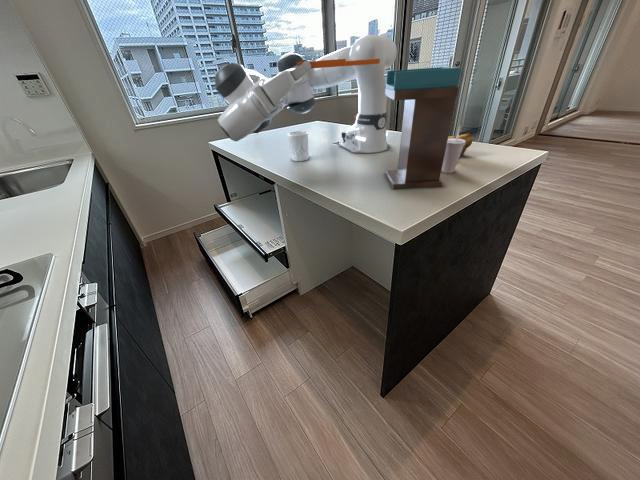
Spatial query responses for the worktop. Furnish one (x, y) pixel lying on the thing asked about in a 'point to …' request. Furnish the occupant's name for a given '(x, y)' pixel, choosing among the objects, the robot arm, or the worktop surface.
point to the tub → (423, 78)
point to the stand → (422, 136)
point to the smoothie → (452, 153)
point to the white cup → (299, 145)
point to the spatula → (339, 63)
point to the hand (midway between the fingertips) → (310, 63)
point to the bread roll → (467, 138)
